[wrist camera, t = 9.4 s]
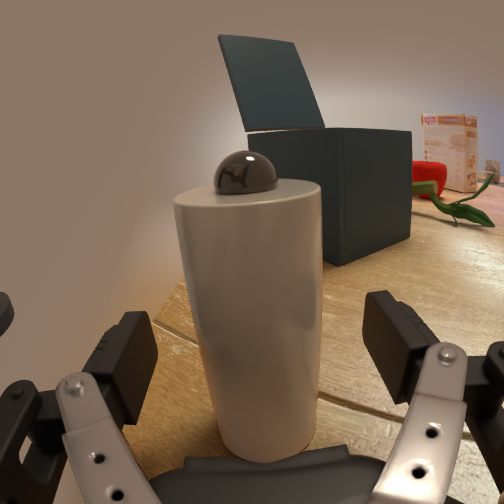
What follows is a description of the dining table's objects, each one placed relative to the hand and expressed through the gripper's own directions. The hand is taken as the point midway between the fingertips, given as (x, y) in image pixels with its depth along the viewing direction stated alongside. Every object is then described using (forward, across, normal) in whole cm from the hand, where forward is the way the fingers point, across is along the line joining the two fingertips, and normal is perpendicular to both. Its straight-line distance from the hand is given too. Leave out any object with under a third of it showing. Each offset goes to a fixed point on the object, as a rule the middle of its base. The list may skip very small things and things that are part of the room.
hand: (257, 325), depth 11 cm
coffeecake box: (+61, -53, +6) cm, 81 cm away
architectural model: (+72, -81, +6) cm, 109 cm away
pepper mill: (0, 0, +6) cm, 6 cm away
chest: (+28, -10, +6) cm, 31 cm away
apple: (+49, -38, +6) cm, 63 cm away
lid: (+37, -5, -15) cm, 41 cm away
